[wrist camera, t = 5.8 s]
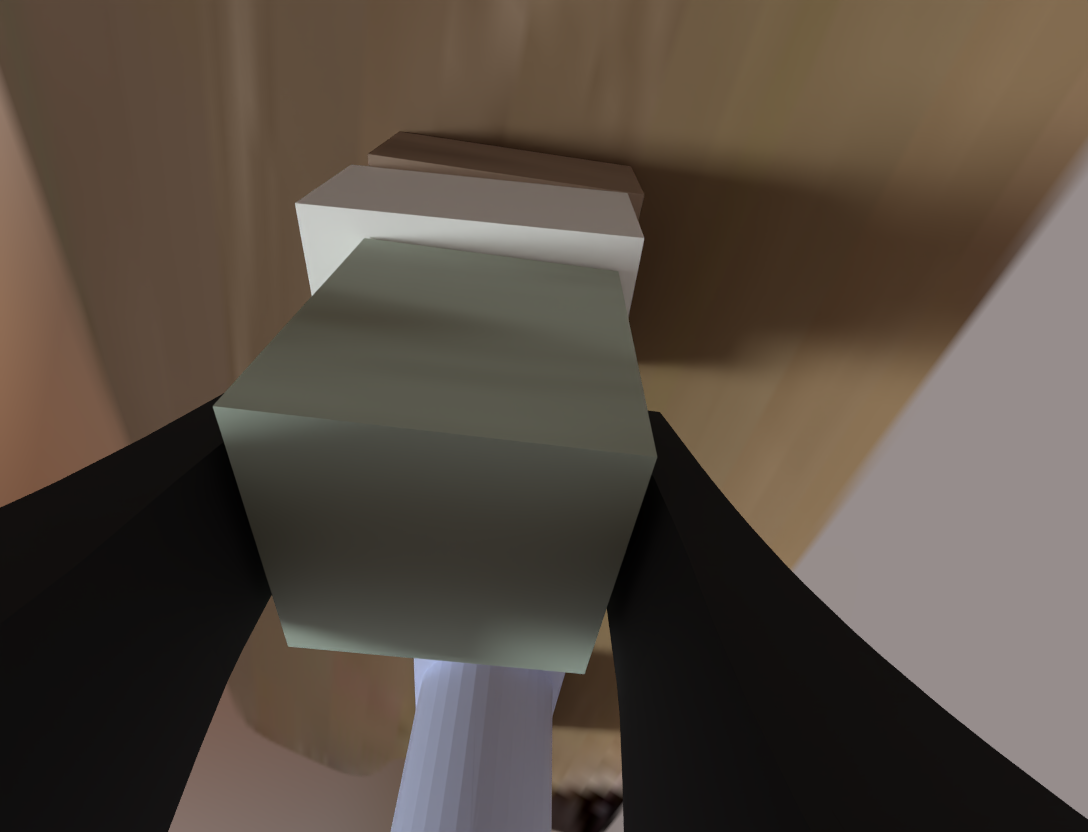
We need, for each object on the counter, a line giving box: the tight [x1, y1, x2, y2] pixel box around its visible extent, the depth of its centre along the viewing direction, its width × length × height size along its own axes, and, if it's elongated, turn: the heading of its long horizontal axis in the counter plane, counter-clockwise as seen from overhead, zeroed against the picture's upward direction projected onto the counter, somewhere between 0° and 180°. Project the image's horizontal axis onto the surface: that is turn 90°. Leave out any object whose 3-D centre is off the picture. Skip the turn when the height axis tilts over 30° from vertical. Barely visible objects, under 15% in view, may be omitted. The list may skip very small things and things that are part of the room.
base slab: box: [368, 132, 644, 221], centre depth 14 cm, size 6×6×3 cm
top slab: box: [295, 165, 644, 317], centre depth 12 cm, size 6×6×3 cm
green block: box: [213, 238, 657, 674], centre depth 9 cm, size 4×4×5 cm
